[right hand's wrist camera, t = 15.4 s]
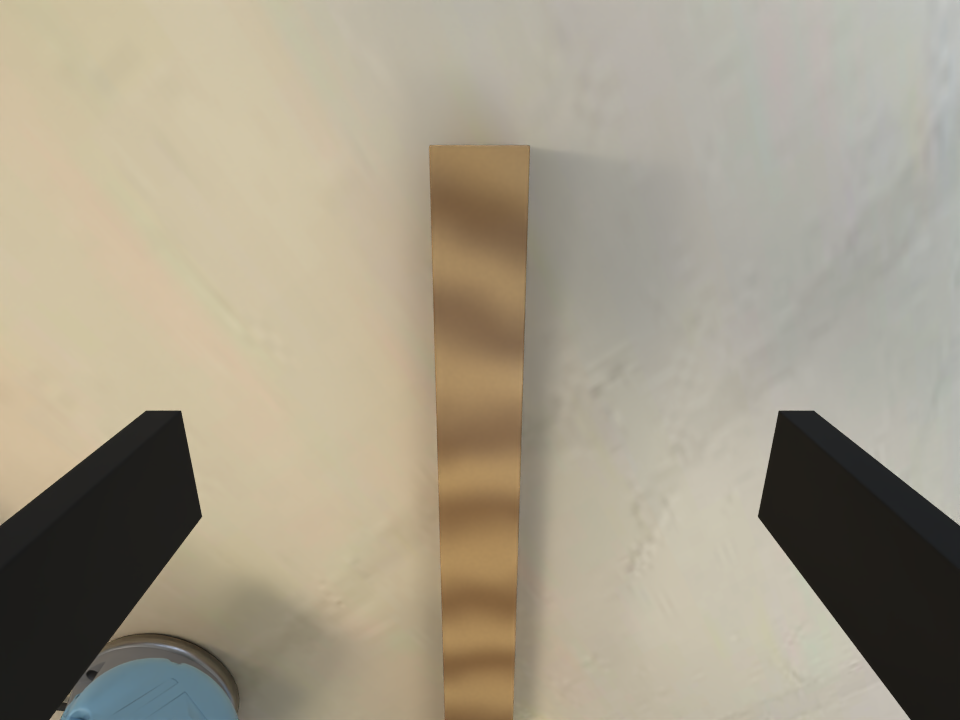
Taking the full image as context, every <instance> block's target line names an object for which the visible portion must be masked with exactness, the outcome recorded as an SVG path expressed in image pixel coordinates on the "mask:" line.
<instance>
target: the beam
mask: <svg viewBox="0 0 960 720" xmlns="http://www.w3.org/2000/svg"><path fill="white" fill-rule="evenodd" d="M429 159H430V195H431V231H432V268H433V304H434V340H435V377H436V413H437V449H438V485H439V522H440V558H441V594H442V631H443V667H444V703H445V720H513V703H514V669H515V635H516V601H517V567H518V533H519V499H520V465H521V431H522V397H523V363H524V329H525V295H526V261H527V227H528V193H529V159H530V146H529V145H430V146H429Z"/></svg>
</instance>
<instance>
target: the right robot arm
mask: <svg viewBox="0 0 960 720" xmlns="http://www.w3.org/2000/svg"><path fill="white" fill-rule="evenodd" d="M201 517H202V514H201V509H200V504H199V499H198V494H197V489H196V484H195V479H194V474H193V468H192V463H191V458H190V453H189V448H188V443H187V438H186V433H185V428H184V423H183V418H182V413H181V411H145V412H144V413H143V414H141V415H140V416H139V417H138V418H136V419H135V420H134V421H133V422H131V423H130V424H129V425H127V426H126V427H125V428H124V429H122V430H121V431H120V432H119V433H117V434H116V435H115V436H114V437H112V438H111V439H110V440H108V441H107V442H106V443H105V444H103V445H102V446H101V447H100V448H98V449H97V450H96V451H95V452H93V453H92V454H91V455H89V456H88V457H87V458H86V459H84V460H83V461H82V462H81V463H79V464H78V465H77V466H75V467H74V468H73V469H72V470H70V471H69V472H68V473H67V474H65V475H64V476H63V477H62V478H60V479H59V480H58V481H56V482H55V483H54V484H53V485H51V486H50V487H49V488H48V489H46V490H45V491H44V492H43V493H41V494H40V495H39V496H37V497H36V498H35V499H34V500H32V501H31V502H30V503H29V504H27V505H26V506H25V507H24V508H22V509H21V510H20V511H18V512H17V513H16V514H15V515H13V516H12V517H11V518H10V519H8V520H7V521H6V522H4V523H3V524H2V525H1V526H0V720H49V719H50V718H51V717H52V715H53V714H54V713H55V711H56V710H57V709H58V707H59V706H60V705H61V703H62V702H63V701H64V699H65V698H66V697H67V695H68V694H69V693H70V691H71V690H72V689H73V688H74V686H75V685H76V684H77V682H78V681H79V680H80V678H81V677H82V676H83V674H84V673H85V672H86V670H87V669H88V668H89V666H90V665H91V664H92V662H93V661H94V660H95V658H96V657H97V656H98V654H99V653H100V652H101V650H102V649H103V648H104V646H105V645H106V644H107V642H108V641H109V640H110V638H111V637H112V636H113V634H114V633H115V632H116V630H117V629H118V628H119V626H120V625H121V624H122V622H123V621H124V620H125V618H126V617H127V616H128V614H129V613H130V612H131V610H132V609H133V608H134V606H135V605H136V604H137V602H138V601H139V600H140V599H141V597H142V596H143V595H144V593H145V592H146V591H147V589H148V588H149V587H150V585H151V584H152V583H153V581H154V580H155V579H156V577H157V576H158V575H159V573H160V572H161V571H162V569H163V568H164V567H165V565H166V564H167V563H168V561H169V560H170V559H171V557H172V556H173V555H174V553H175V552H176V551H177V549H178V548H179V547H180V545H181V544H182V543H183V541H184V540H185V539H186V537H187V536H188V535H189V533H190V532H191V531H192V529H193V528H194V527H195V525H196V524H197V523H198V521H199V520H200V519H201ZM758 517H759V519H760V520H761V521H762V523H763V524H764V525H765V527H766V528H767V529H768V531H769V532H770V533H771V535H772V536H773V537H774V539H775V540H776V541H777V543H778V544H779V545H780V547H781V548H782V549H783V551H784V552H785V553H786V555H787V556H788V557H789V559H790V560H791V561H792V563H793V564H794V565H795V567H796V568H797V569H798V571H799V572H800V573H801V575H802V576H803V577H804V579H805V580H806V581H807V583H808V584H809V585H810V587H811V588H812V589H813V591H814V592H815V593H816V595H817V596H818V597H819V599H820V600H821V601H822V602H823V604H824V605H825V606H826V608H827V609H828V610H829V612H830V613H831V614H832V616H833V617H834V618H835V620H836V621H837V622H838V624H839V625H840V626H841V628H842V629H843V630H844V632H845V633H846V634H847V636H848V637H849V638H850V640H851V641H852V642H853V644H854V645H855V646H856V648H857V649H858V650H859V652H860V653H861V654H862V656H863V657H864V658H865V660H866V661H867V662H868V664H869V665H870V666H871V668H872V669H873V670H874V672H875V673H876V674H877V676H878V677H879V678H880V680H881V681H882V682H883V684H884V685H885V686H886V688H887V689H888V690H889V691H890V693H891V694H892V695H893V697H894V698H895V699H896V701H897V702H898V703H899V705H900V706H901V707H902V709H903V710H904V711H905V713H906V714H907V715H908V717H909V718H910V719H911V720H960V526H959V525H958V524H957V523H956V522H954V521H953V520H952V519H950V518H949V517H948V516H947V515H945V514H944V513H943V512H942V511H940V510H939V509H938V508H936V507H935V506H934V505H933V504H931V503H930V502H929V501H928V500H926V499H925V498H924V497H923V496H921V495H920V494H919V493H917V492H916V491H915V490H914V489H912V488H911V487H910V486H909V485H907V484H906V483H905V482H904V481H902V480H901V479H900V478H898V477H897V476H896V475H895V474H893V473H892V472H891V471H890V470H888V469H887V468H886V467H885V466H883V465H882V464H881V463H879V462H878V461H877V460H876V459H874V458H873V457H872V456H871V455H869V454H868V453H867V452H865V451H864V450H863V449H862V448H860V447H859V446H858V445H857V444H855V443H854V442H853V441H852V440H850V439H849V438H848V437H846V436H845V435H844V434H843V433H841V432H840V431H839V430H838V429H836V428H835V427H834V426H833V425H831V424H830V423H829V422H827V421H826V420H825V419H824V418H822V417H821V416H820V415H819V414H817V413H816V412H815V411H779V413H778V418H777V423H776V428H775V433H774V438H773V443H772V448H771V453H770V458H769V463H768V468H767V474H766V479H765V484H764V489H763V494H762V499H761V504H760V509H759V514H758Z"/></svg>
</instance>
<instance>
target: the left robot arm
mask: <svg viewBox="0 0 960 720" xmlns="http://www.w3.org/2000/svg"><path fill="white" fill-rule="evenodd" d="M238 707H239V695H238V690H237V687H236V684H235V682H234V680H233V678H232V676H231V675H230V673H229V672H228V670H227V669H226V668H225V667H224V666H223V665H222V664H221V663H220V662H219V661H218V660H217V659H216V658H215V657H214V656H212V655H211V654H209V653H208V652H207V651H205V650H203V649H202V648H200V647H198V646H196V645H194V644H191V643H189V642H187V641H184V640H181V639H178V638H174V637H169V636H164V635H156V634H139V635H131V636H126V637H122V638H119V639H116V640H114V641H111V642H109V643H108V644H106V645H105V646H104V648H103V649H102V650H101V652H100V653H99V654H98V656H97V657H96V658H95V660H94V661H93V662H92V664H91V665H90V666H89V668H88V669H87V670H86V672H85V673H84V674H83V676H82V677H81V678H80V680H79V681H78V682H77V684H76V685H75V686H74V688H73V689H72V692H71V695H70V697H69V700H68V703H61V705H60V706H59V707H58V709H57V710H59V711H64V713H63V715H62V717H61V719H60V720H239V719H238V716H237V711H238Z"/></svg>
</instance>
